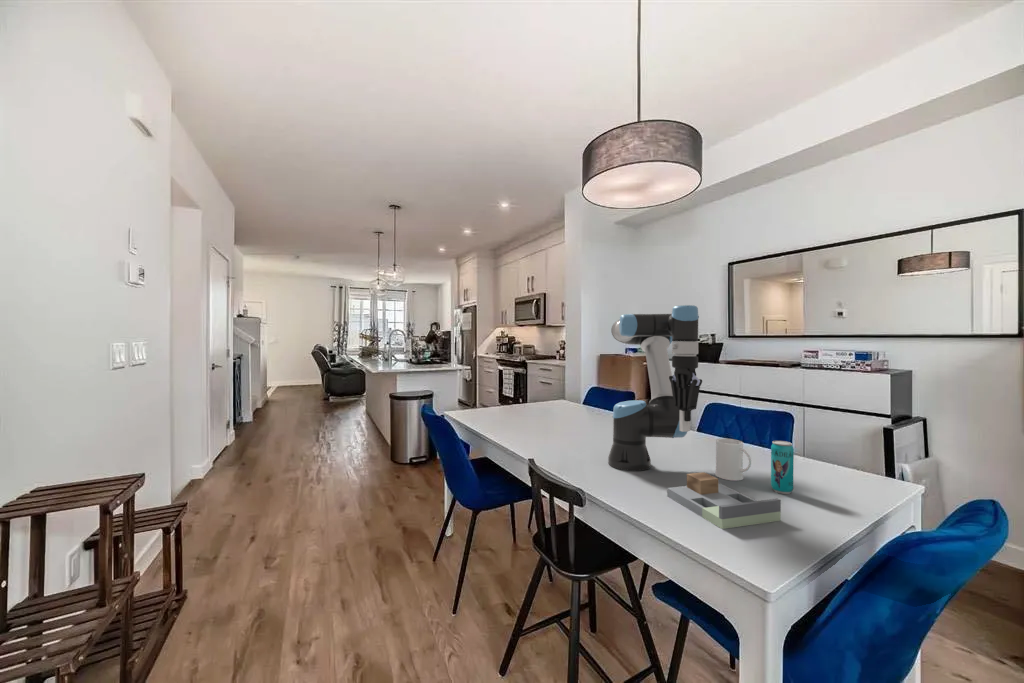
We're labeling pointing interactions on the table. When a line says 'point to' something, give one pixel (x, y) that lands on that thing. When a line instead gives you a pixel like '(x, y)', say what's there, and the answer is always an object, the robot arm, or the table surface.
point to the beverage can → (782, 467)
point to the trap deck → (727, 506)
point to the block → (702, 483)
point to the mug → (730, 459)
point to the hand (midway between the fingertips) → (684, 430)
